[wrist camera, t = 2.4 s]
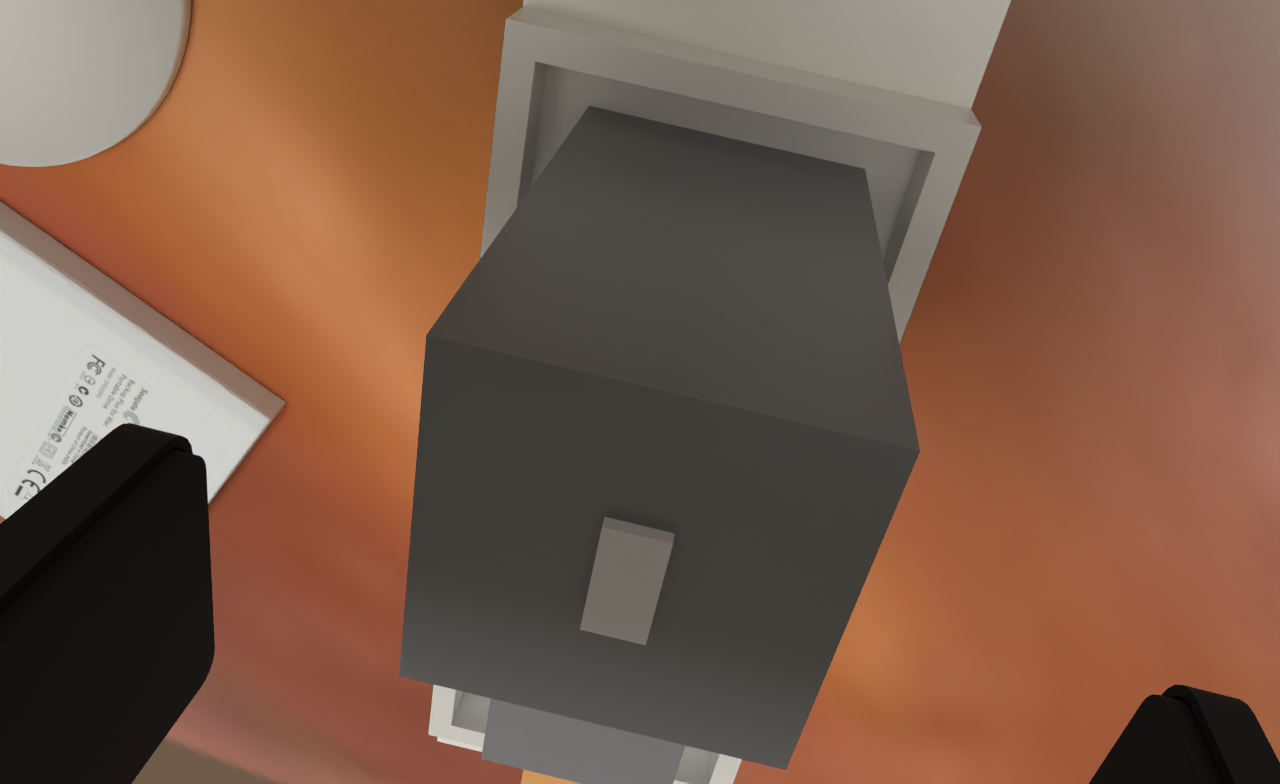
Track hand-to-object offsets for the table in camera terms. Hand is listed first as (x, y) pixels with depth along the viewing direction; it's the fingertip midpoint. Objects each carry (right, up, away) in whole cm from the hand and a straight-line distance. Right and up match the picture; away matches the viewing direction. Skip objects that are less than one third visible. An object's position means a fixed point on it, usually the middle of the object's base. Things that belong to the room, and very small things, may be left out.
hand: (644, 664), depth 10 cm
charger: (+1, +5, +7) cm, 9 cm away
